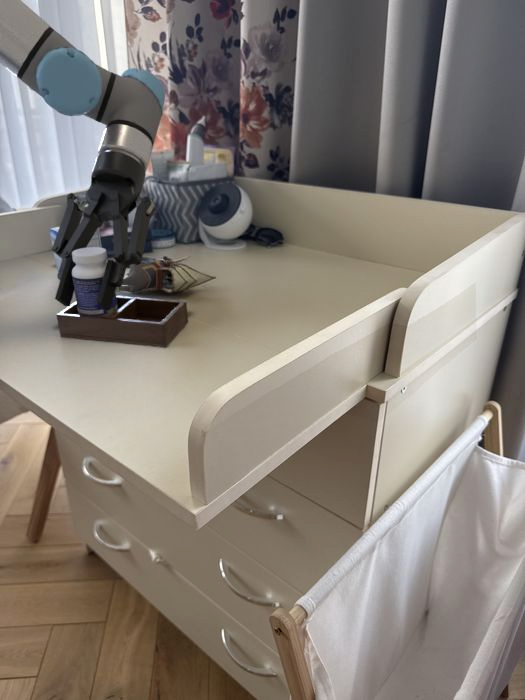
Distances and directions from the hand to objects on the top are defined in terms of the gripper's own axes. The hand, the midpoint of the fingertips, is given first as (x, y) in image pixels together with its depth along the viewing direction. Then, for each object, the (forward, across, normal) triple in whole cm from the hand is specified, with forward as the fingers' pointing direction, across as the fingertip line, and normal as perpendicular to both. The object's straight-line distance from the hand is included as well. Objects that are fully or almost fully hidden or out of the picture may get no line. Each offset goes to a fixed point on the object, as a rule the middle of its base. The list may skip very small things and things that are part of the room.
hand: (82, 304), depth 76 cm
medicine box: (-15, +17, -23) cm, 32 cm away
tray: (+1, -4, -6) cm, 8 cm away
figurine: (-11, -3, -18) cm, 22 cm away
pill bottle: (0, 0, -5) cm, 5 cm away
